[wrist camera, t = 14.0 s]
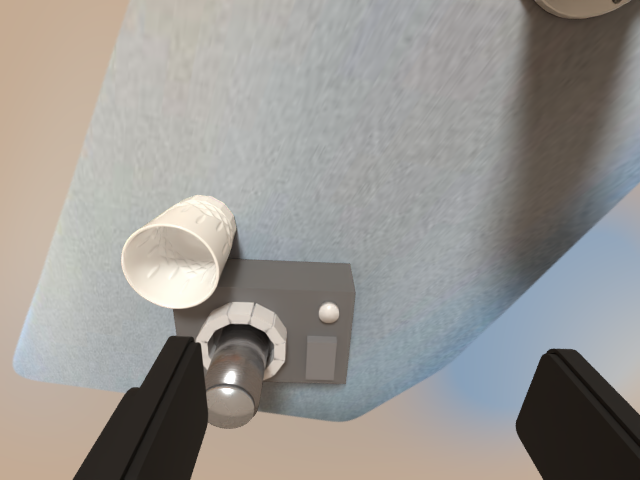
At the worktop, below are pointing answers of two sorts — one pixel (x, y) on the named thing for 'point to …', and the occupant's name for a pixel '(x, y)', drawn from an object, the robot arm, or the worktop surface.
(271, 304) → the camera body
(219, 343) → the shiny metal cylinder
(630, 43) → the worktop surface
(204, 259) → the white cup
